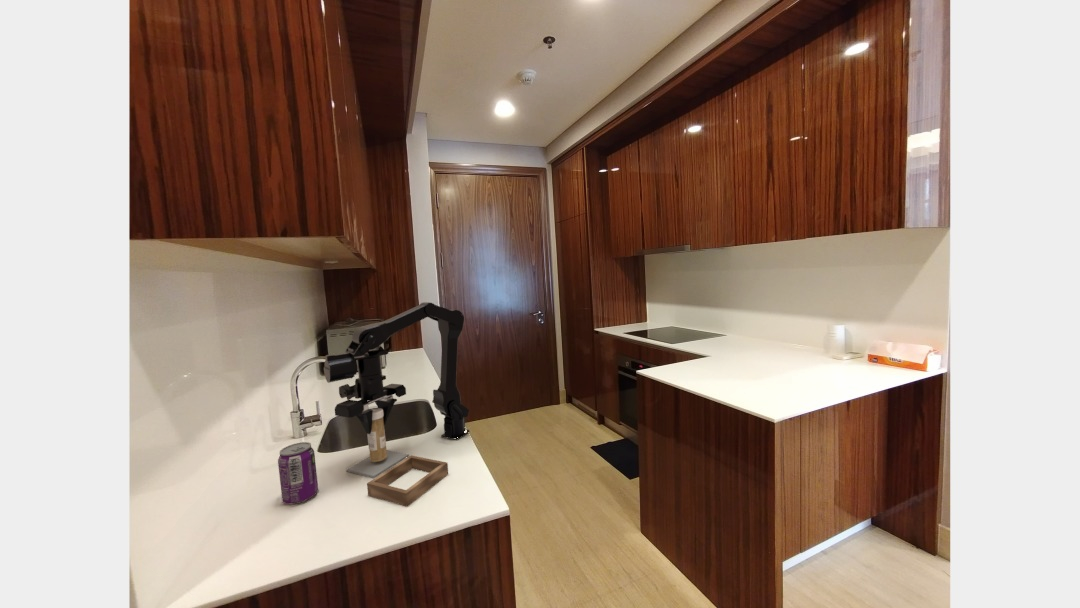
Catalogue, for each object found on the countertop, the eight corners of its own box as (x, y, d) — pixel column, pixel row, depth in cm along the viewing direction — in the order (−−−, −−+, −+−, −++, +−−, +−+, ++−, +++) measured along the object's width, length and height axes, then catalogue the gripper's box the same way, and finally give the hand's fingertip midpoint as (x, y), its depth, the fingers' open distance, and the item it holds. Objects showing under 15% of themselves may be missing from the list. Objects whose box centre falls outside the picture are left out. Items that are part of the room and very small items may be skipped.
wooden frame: (412, 466, 99) (411, 455, 98) (448, 473, 94) (447, 462, 93) (368, 495, 86) (366, 483, 86) (407, 506, 81) (406, 493, 81)
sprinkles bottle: (390, 458, 101) (385, 410, 100) (373, 464, 98) (368, 415, 97) (383, 452, 104) (379, 406, 103) (366, 459, 101) (362, 411, 100)
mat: (382, 450, 109) (382, 448, 108) (408, 456, 104) (408, 454, 104) (346, 471, 98) (346, 469, 98) (373, 478, 94) (373, 476, 93)
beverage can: (325, 490, 89) (320, 442, 88) (299, 508, 82) (293, 456, 82) (302, 487, 91) (297, 440, 90) (274, 504, 84) (269, 454, 83)
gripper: (377, 363, 111) (381, 414, 112) (317, 381, 94) (323, 440, 95) (405, 365, 106) (409, 418, 107) (347, 384, 89) (353, 447, 91)
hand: (375, 430), depth 100 cm, fingers closed on sprinkles bottle, 4 cm apart
